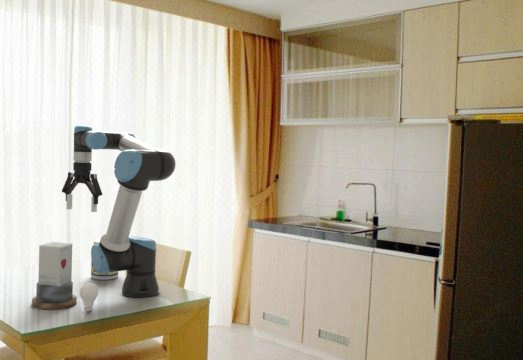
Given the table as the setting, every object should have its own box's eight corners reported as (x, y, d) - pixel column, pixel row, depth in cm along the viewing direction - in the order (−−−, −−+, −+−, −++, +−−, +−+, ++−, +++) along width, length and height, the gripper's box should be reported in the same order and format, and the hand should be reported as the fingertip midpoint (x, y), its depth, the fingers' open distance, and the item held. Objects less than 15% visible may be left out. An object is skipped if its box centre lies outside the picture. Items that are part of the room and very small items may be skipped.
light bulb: (99, 310, 213) (100, 281, 212) (95, 315, 206) (95, 285, 206) (81, 309, 213) (82, 280, 212) (76, 315, 206) (77, 285, 205)
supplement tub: (85, 278, 258) (86, 241, 257) (101, 273, 270) (101, 237, 269) (108, 281, 255) (109, 244, 253) (123, 276, 266) (124, 240, 265)
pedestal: (85, 301, 223) (85, 281, 222) (55, 312, 208) (55, 290, 208) (53, 295, 229) (54, 276, 229) (22, 305, 214) (22, 284, 214)
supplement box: (59, 287, 213) (59, 247, 212) (37, 284, 215) (38, 245, 214) (72, 281, 222) (73, 243, 220) (51, 279, 223) (52, 241, 222)
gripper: (111, 163, 246) (110, 212, 248) (66, 160, 256) (65, 207, 258) (99, 163, 240) (98, 213, 241) (53, 160, 249) (53, 208, 251)
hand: (81, 210), depth 249 cm, fingers open, 13 cm apart
